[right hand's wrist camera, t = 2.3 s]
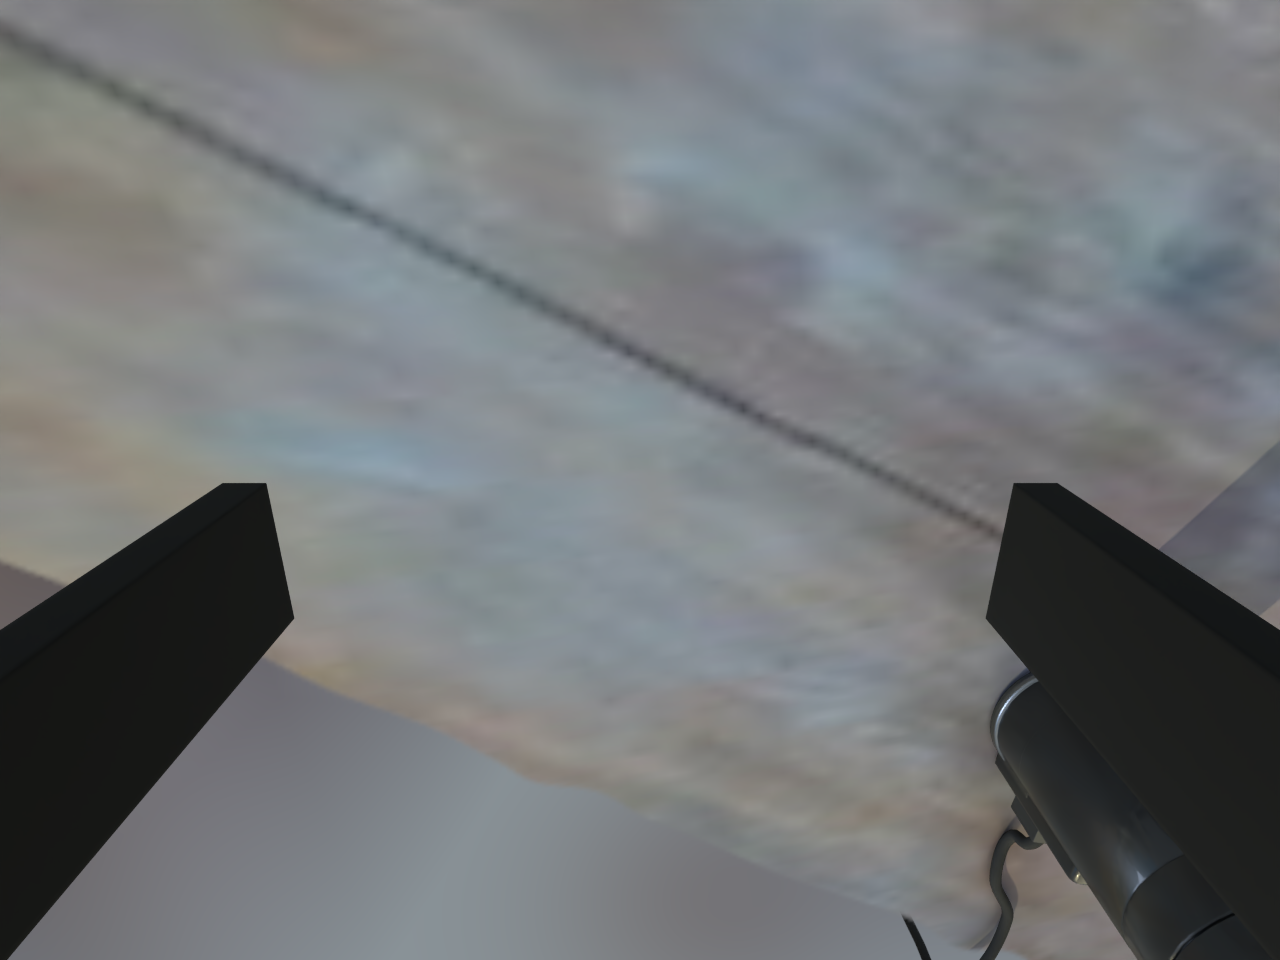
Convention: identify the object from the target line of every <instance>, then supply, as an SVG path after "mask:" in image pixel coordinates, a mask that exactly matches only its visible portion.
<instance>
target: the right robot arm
mask: <svg viewBox="0 0 1280 960" xmlns="http://www.w3.org/2000/svg"><path fill="white" fill-rule="evenodd" d="M293 619H294V615H293V610H292V605H291V600H290V595H289V590H288V586H287V581H286V576H285V571H284V566H283V562H282V557H281V552H280V547H279V542H278V537H277V533H276V528H275V523H274V518H273V513H272V509H271V504H270V499H269V494H268V489H267V484H266V483H222V484H221V485H219V486H218V487H216V488H215V489H213V490H212V491H210V492H209V493H207V494H206V495H204V496H202V497H201V498H199V499H198V500H196V501H195V502H193V503H192V504H190V505H189V506H187V507H186V508H184V509H183V510H181V511H180V512H178V513H177V514H175V515H174V516H172V517H171V518H169V519H168V520H166V521H165V522H163V523H162V524H160V525H159V526H157V527H156V528H154V529H153V530H151V531H150V532H148V533H146V534H145V535H143V536H142V537H140V538H139V539H137V540H136V541H134V542H133V543H131V544H130V545H128V546H127V547H125V548H124V549H122V550H121V551H119V552H118V553H116V554H115V555H113V556H112V557H110V558H109V559H107V560H106V561H104V562H103V563H101V564H100V565H98V566H97V567H95V568H94V569H92V570H90V571H89V572H87V573H86V574H84V575H83V576H81V577H80V578H78V579H77V580H75V581H74V582H72V583H71V584H69V585H68V586H66V587H65V588H63V589H62V590H60V591H59V592H57V593H56V594H54V595H53V596H51V597H50V598H48V599H47V600H45V601H44V602H42V603H41V604H39V605H38V606H36V607H35V608H33V609H31V610H30V611H28V612H27V613H25V614H24V615H22V616H21V617H19V618H18V619H16V620H15V621H13V622H12V623H10V624H9V625H7V626H6V627H4V628H3V629H1V630H0V960H7V959H8V958H9V957H10V956H11V954H12V953H13V952H14V951H15V950H16V949H17V947H18V946H19V945H20V944H21V942H22V941H23V940H24V939H25V938H26V937H27V935H28V934H29V933H30V932H31V931H32V929H33V928H34V927H35V926H36V925H37V923H38V922H39V921H40V920H41V919H42V918H43V916H44V915H45V914H46V913H47V912H48V910H49V909H50V908H51V907H52V906H53V905H54V903H55V902H56V901H57V900H58V899H59V897H60V896H61V895H62V894H63V893H64V891H65V890H66V889H67V888H68V887H69V885H70V884H71V883H72V882H73V881H74V880H75V878H76V877H77V876H78V875H79V874H80V872H81V871H82V870H83V869H84V868H85V866H86V865H87V864H88V863H89V862H90V860H91V859H92V858H93V857H94V856H95V855H96V853H97V852H98V851H99V850H100V849H101V847H102V846H103V845H104V844H105V843H106V842H107V840H108V839H109V838H110V837H111V836H112V834H113V833H114V832H115V831H116V830H117V828H118V827H119V826H120V825H121V824H122V823H123V821H124V820H125V819H126V818H127V817H128V815H129V814H130V813H131V812H132V811H133V809H134V808H135V807H136V806H137V805H138V804H139V802H140V801H141V800H142V799H143V798H144V796H145V795H146V794H147V793H148V792H149V790H150V789H151V788H152V787H153V786H154V784H155V783H156V782H157V781H158V780H159V779H160V777H161V776H162V775H163V774H164V773H165V771H166V770H167V769H168V768H169V767H170V765H171V764H172V763H173V762H174V761H175V759H176V758H177V757H178V756H179V755H180V754H181V752H182V751H183V750H184V749H185V748H186V746H187V745H188V744H189V743H190V742H191V740H192V739H193V738H194V737H195V736H196V735H197V733H198V732H199V731H200V730H201V729H202V727H203V726H204V725H205V724H206V723H207V721H208V720H209V719H210V718H211V717H212V716H213V714H214V713H215V712H216V711H217V710H218V708H219V707H220V706H221V705H222V704H223V702H224V701H225V700H226V699H227V698H228V697H229V695H230V694H231V693H232V692H233V691H234V689H235V688H236V687H237V686H238V685H239V683H240V682H241V681H242V680H243V679H244V678H245V676H246V675H247V674H248V673H249V672H250V670H251V669H252V668H253V667H254V666H255V664H256V663H257V662H258V661H259V660H260V658H261V657H262V656H263V655H264V654H265V653H266V651H267V650H268V649H269V648H270V647H271V645H272V644H273V643H274V642H275V641H276V639H277V638H278V637H279V636H280V635H281V634H282V632H283V631H284V630H285V629H286V628H287V626H288V625H289V624H290V623H291V622H292V620H293ZM986 619H987V620H988V622H989V623H990V624H991V625H992V626H993V628H994V629H995V630H996V631H997V632H998V634H999V635H1000V636H1001V637H1002V638H1003V639H1004V641H1005V642H1006V643H1007V644H1008V645H1009V647H1010V648H1011V649H1012V650H1013V651H1014V653H1015V654H1016V655H1017V656H1018V657H1019V658H1020V660H1021V661H1022V662H1023V663H1024V664H1025V666H1026V667H1027V668H1028V669H1029V670H1030V672H1031V673H1032V674H1033V675H1034V676H1035V678H1036V679H1037V680H1038V681H1039V682H1040V683H1041V685H1042V686H1043V687H1044V688H1045V689H1046V691H1047V692H1048V693H1049V694H1050V695H1051V697H1052V698H1053V699H1054V700H1055V701H1056V702H1057V704H1058V705H1059V706H1060V707H1061V708H1062V710H1063V711H1064V712H1065V713H1066V714H1067V716H1068V717H1069V718H1070V719H1071V720H1072V721H1073V723H1074V724H1075V725H1076V726H1077V727H1078V729H1079V730H1080V731H1081V732H1082V733H1083V735H1084V736H1085V737H1086V738H1087V739H1088V741H1089V742H1090V743H1091V744H1092V745H1093V746H1094V748H1095V749H1096V750H1097V751H1098V752H1099V754H1100V755H1101V756H1102V757H1103V758H1104V760H1105V761H1106V762H1107V763H1108V764H1109V765H1110V767H1111V768H1112V769H1113V770H1114V771H1115V773H1116V774H1117V775H1118V776H1119V777H1120V779H1121V780H1122V781H1123V782H1124V783H1125V784H1126V786H1127V787H1128V788H1129V789H1130V790H1131V792H1132V793H1133V794H1134V795H1135V796H1136V798H1137V799H1138V800H1139V801H1140V802H1141V804H1142V805H1143V806H1144V807H1145V808H1146V809H1147V811H1148V812H1149V813H1150V814H1151V815H1152V817H1153V818H1154V819H1155V820H1156V821H1157V823H1158V824H1159V825H1160V826H1161V827H1162V828H1163V830H1164V831H1165V832H1166V833H1167V834H1168V836H1169V837H1170V838H1171V839H1172V840H1173V842H1174V843H1175V844H1176V845H1177V846H1178V847H1179V849H1180V850H1181V851H1182V852H1183V853H1184V855H1185V856H1186V857H1187V858H1188V859H1189V861H1190V862H1191V863H1192V864H1193V865H1194V867H1195V868H1196V869H1197V870H1198V871H1199V872H1200V874H1201V875H1202V876H1203V877H1204V878H1205V880H1206V881H1207V882H1208V883H1209V884H1210V886H1211V887H1212V888H1213V889H1214V890H1215V891H1216V893H1217V894H1218V895H1219V896H1220V897H1221V899H1222V900H1223V901H1224V902H1225V903H1226V905H1227V906H1228V907H1229V908H1230V909H1231V910H1232V912H1233V913H1234V914H1235V915H1236V916H1237V918H1238V919H1239V920H1240V921H1241V922H1242V924H1243V925H1244V926H1245V927H1246V928H1247V930H1248V931H1249V932H1250V933H1251V934H1252V935H1253V937H1254V938H1255V939H1256V940H1257V941H1258V943H1259V944H1260V945H1261V946H1262V947H1263V949H1264V950H1265V951H1266V952H1267V953H1268V954H1269V956H1270V957H1271V958H1272V959H1273V960H1280V630H1279V629H1277V628H1276V627H1274V626H1273V625H1271V624H1270V623H1268V622H1267V621H1265V620H1264V619H1262V618H1261V617H1259V616H1258V615H1256V614H1255V613H1253V612H1252V611H1250V610H1249V609H1247V608H1245V607H1244V606H1242V605H1241V604H1239V603H1238V602H1236V601H1235V600H1233V599H1232V598H1230V597H1229V596H1227V595H1226V594H1224V593H1223V592H1221V591H1220V590H1218V589H1217V588H1215V587H1214V586H1212V585H1211V584H1209V583H1208V582H1206V581H1205V580H1203V579H1202V578H1200V577H1199V576H1197V575H1196V574H1194V573H1193V572H1191V571H1190V570H1188V569H1186V568H1185V567H1183V566H1182V565H1180V564H1179V563H1177V562H1176V561H1174V560H1173V559H1171V558H1170V557H1168V556H1167V555H1165V554H1164V553H1162V552H1161V551H1159V550H1158V549H1156V548H1155V547H1153V546H1152V545H1150V544H1149V543H1147V542H1146V541H1144V540H1143V539H1141V538H1140V537H1138V536H1137V535H1135V534H1134V533H1132V532H1130V531H1129V530H1127V529H1126V528H1124V527H1123V526H1121V525H1120V524H1118V523H1117V522H1115V521H1114V520H1112V519H1111V518H1109V517H1108V516H1106V515H1105V514H1103V513H1102V512H1100V511H1099V510H1097V509H1096V508H1094V507H1093V506H1091V505H1090V504H1088V503H1087V502H1085V501H1084V500H1082V499H1081V498H1079V497H1078V496H1076V495H1074V494H1073V493H1071V492H1070V491H1068V490H1067V489H1065V488H1064V487H1062V486H1061V485H1059V484H1058V483H1014V484H1013V489H1012V494H1011V499H1010V504H1009V509H1008V513H1007V518H1006V523H1005V528H1004V533H1003V537H1002V542H1001V547H1000V552H999V557H998V562H997V566H996V571H995V576H994V581H993V586H992V590H991V595H990V600H989V605H988V610H987V615H986Z"/></svg>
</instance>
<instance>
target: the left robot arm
mask: <svg viewBox="0 0 1280 960" xmlns="http://www.w3.org/2000/svg"><path fill="white" fill-rule="evenodd" d="M990 733H991V738H992V742H993V744H994V746H995V748H996V750H997V751H998V756H997V759H996V761H995V764H996V765H997V767H998V768H999V770H1000V771H1001V773H1002V775H1003V776H1004V778H1005V779H1006V781H1007V782H1008V784H1009V786H1010V787H1011V789H1012V790H1013V792H1014V793H1015V795H1016V796H1015V798H1014V801H1013V803H1012V805H1011V808H1012V809H1013V811H1014V812H1015V814H1016V816H1017V817H1018V819H1019V820H1020V822H1021V824H1022V825H1023V827H1024V829H1025V830H1026V832H1027V833H1028V835H1029V837H1027V838H1026V837H1025V836H1024V835H1023V834H1022V833H1021V832H1019V831H1018V830H1009V831H1007V832H1006V833H1005V834H1004V835H1003V836H1002V838H1001V839H1000V840H999V842H998V844H997V846H996V848H995V851H994V854H993V858H992V863H991V868H990V885H991V888H992V891H993V893H994V895H995V897H996V899H997V900H998V902H999V904H1000V906H1001V908H1002V916H1001V919H1000V922H999V925H998V928H997V930H996V933H995V935H994V937H993V939H992V941H991V943H990V945H989V946H988V948H987V950H986V951H985V953H984V954H983V956H982V957H981V958H980V960H995V958H996V956H997V955H998V953H999V951H1000V949H1001V948H1002V946H1003V944H1004V942H1005V939H1006V937H1007V935H1008V932H1009V930H1010V927H1011V924H1012V921H1013V909H1012V906H1011V903H1010V901H1009V899H1008V897H1007V895H1006V894H1005V892H1004V890H1003V888H1002V884H1001V877H1002V870H1003V865H1004V861H1005V857H1006V854H1007V852H1008V850H1009V848H1010V846H1011V845H1012V844H1013V843H1014V842H1016V843H1017V844H1018V845H1019V846H1021V847H1022V848H1023V849H1026V850H1031V849H1036V848H1038V847H1040V846H1041V845H1043V844H1044V843H1046V844H1047V845H1048V847H1049V848H1050V850H1051V851H1052V853H1053V854H1054V856H1055V857H1056V859H1057V861H1058V862H1059V864H1060V865H1061V867H1062V868H1063V870H1064V872H1065V873H1066V875H1067V876H1068V877H1069V879H1070V880H1072V881H1073V882H1075V883H1077V884H1082V885H1088V886H1089V888H1090V889H1091V891H1092V892H1093V894H1094V895H1095V897H1096V898H1097V900H1098V901H1099V903H1100V904H1101V906H1102V907H1103V909H1104V910H1105V912H1106V913H1107V915H1108V916H1109V918H1110V919H1111V921H1112V923H1113V924H1114V926H1115V927H1116V929H1117V930H1118V932H1119V933H1120V935H1121V936H1122V938H1123V939H1124V941H1125V942H1126V944H1127V945H1128V947H1129V948H1130V949H1131V951H1132V952H1133V954H1134V955H1135V957H1136V958H1137V960H1273V959H1272V958H1271V957H1270V956H1269V954H1268V953H1267V952H1266V951H1265V950H1264V949H1263V947H1262V946H1261V945H1260V944H1259V943H1258V941H1257V940H1256V939H1255V938H1254V937H1253V935H1252V934H1251V933H1250V932H1249V931H1248V930H1247V928H1246V927H1245V926H1244V925H1243V924H1242V922H1241V921H1240V920H1239V919H1238V918H1237V916H1236V915H1235V914H1234V913H1233V912H1232V910H1231V909H1230V908H1229V907H1228V906H1227V905H1226V903H1225V902H1224V901H1223V900H1222V899H1221V897H1220V896H1219V895H1218V894H1217V893H1216V891H1215V890H1214V889H1213V888H1212V887H1211V886H1210V884H1209V883H1208V882H1207V881H1206V880H1205V878H1204V877H1203V876H1202V875H1201V874H1200V872H1199V871H1198V870H1197V869H1196V868H1195V867H1194V865H1193V864H1192V863H1191V862H1190V861H1189V859H1188V858H1187V857H1186V856H1185V855H1184V853H1183V852H1182V851H1181V850H1180V849H1179V847H1178V846H1177V845H1176V844H1175V843H1174V842H1173V840H1172V839H1171V838H1170V837H1169V836H1168V834H1167V833H1166V832H1165V831H1164V830H1163V828H1162V827H1161V826H1160V825H1159V824H1158V823H1157V821H1156V820H1155V819H1154V818H1153V817H1152V815H1151V814H1150V813H1149V812H1148V811H1147V809H1146V808H1145V807H1144V806H1143V805H1142V804H1141V802H1140V801H1139V800H1138V799H1137V798H1136V796H1135V795H1134V794H1133V793H1132V792H1131V790H1130V789H1129V788H1128V787H1127V786H1126V784H1125V783H1124V782H1123V781H1122V780H1121V779H1120V777H1119V776H1118V775H1117V774H1116V773H1115V771H1114V770H1113V769H1112V768H1111V767H1110V765H1109V764H1108V763H1107V762H1106V761H1105V760H1104V758H1103V757H1102V756H1101V755H1100V754H1099V752H1098V751H1097V750H1096V749H1095V748H1094V746H1093V745H1092V744H1091V743H1090V742H1089V741H1088V739H1087V738H1086V737H1085V736H1084V735H1083V733H1082V732H1081V731H1080V730H1079V729H1078V727H1077V726H1076V725H1075V724H1074V723H1073V721H1072V720H1071V719H1070V718H1069V717H1068V716H1067V714H1066V713H1065V712H1064V711H1063V710H1062V708H1061V707H1060V706H1059V705H1058V704H1057V702H1056V701H1055V700H1054V699H1053V698H1052V697H1051V695H1050V694H1049V693H1048V692H1047V691H1046V689H1045V688H1044V687H1043V686H1042V685H1041V683H1040V682H1039V681H1038V680H1037V679H1036V678H1035V676H1034V675H1033V674H1032V673H1029V674H1027V675H1026V676H1024V677H1022V678H1021V679H1020V680H1018V681H1017V682H1016V683H1014V684H1013V685H1012V686H1011V687H1010V688H1009V689H1008V690H1007V691H1006V692H1005V693H1004V694H1003V696H1002V697H1001V699H1000V700H999V702H998V703H997V705H996V707H995V709H994V712H993V714H992V718H991V724H990ZM902 917H903V920H904V922H905V924H906V926H907V928H908V930H909V932H910V934H911V936H912V938H913V940H914V942H915V945H916V947H917V949H918V952H919V954H920V957H921V959H922V960H931V958H930V955H929V953H928V950H927V948H926V945H925V943H924V941H923V939H922V937H921V935H920V933H919V931H918V929H917V927H916V925H915V923H914V921H913V920H912V919H910V918H908V917H905V916H903V915H902Z"/></svg>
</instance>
